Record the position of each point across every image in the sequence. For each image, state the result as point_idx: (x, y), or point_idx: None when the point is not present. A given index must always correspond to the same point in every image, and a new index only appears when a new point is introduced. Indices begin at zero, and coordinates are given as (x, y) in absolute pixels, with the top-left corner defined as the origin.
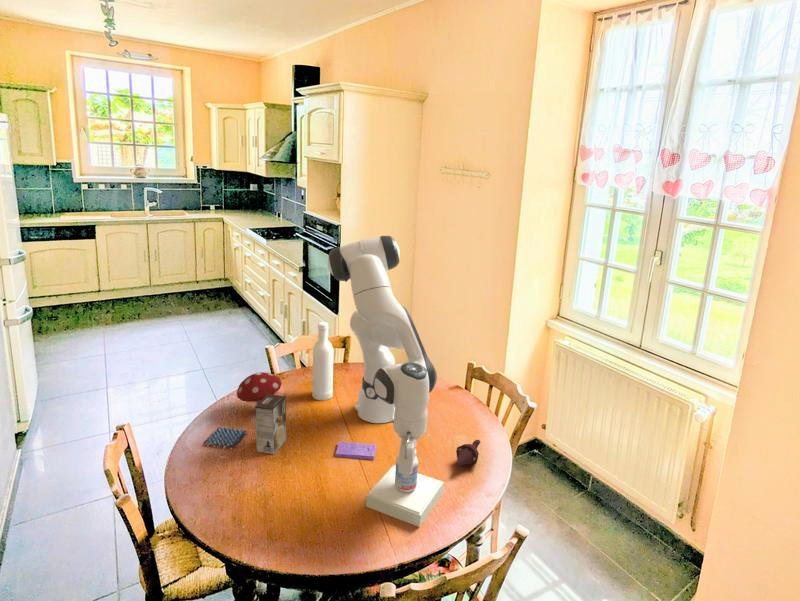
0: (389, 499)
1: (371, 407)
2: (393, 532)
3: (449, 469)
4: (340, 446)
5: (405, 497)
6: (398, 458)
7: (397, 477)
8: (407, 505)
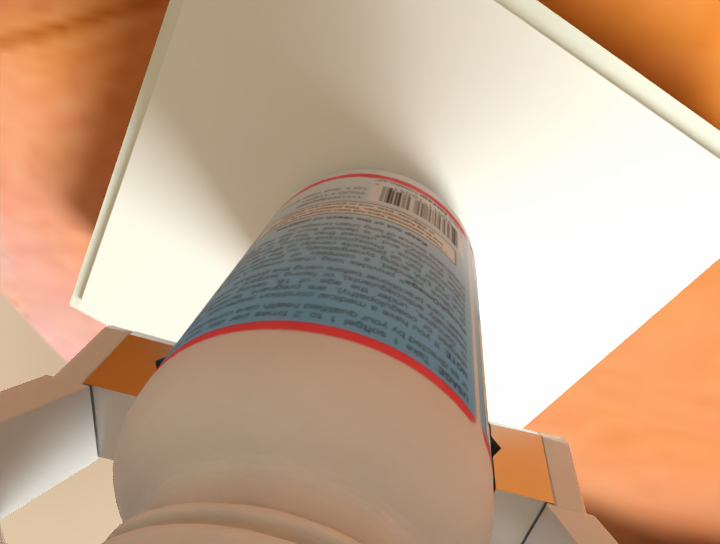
0: (176, 87)
1: None
2: (37, 86)
3: (673, 520)
4: None
5: (228, 236)
6: (246, 426)
7: (271, 236)
8: (131, 238)
